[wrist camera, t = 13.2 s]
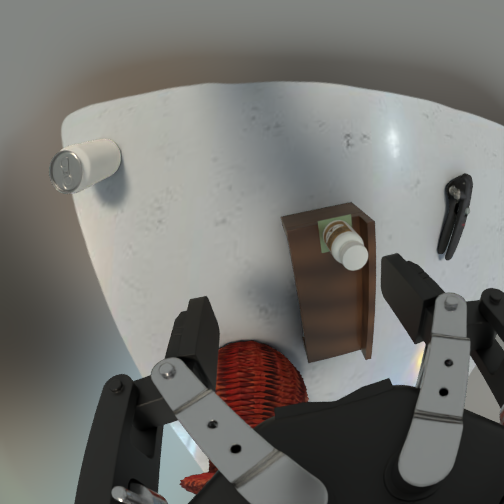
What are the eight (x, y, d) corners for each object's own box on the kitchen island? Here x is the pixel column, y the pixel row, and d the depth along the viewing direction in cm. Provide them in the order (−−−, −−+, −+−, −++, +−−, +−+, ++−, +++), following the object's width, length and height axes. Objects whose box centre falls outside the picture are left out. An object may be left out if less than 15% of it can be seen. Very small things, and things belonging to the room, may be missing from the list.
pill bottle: (335, 213, 38) (355, 234, 31) (356, 230, 39) (378, 253, 32) (316, 237, 39) (331, 263, 32) (337, 252, 40) (355, 280, 33)
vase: (300, 385, 63) (320, 494, 36) (207, 395, 64) (200, 502, 37) (297, 315, 53) (332, 458, 26) (179, 329, 54) (151, 467, 27)
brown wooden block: (280, 213, 44) (289, 236, 36) (351, 199, 43) (374, 217, 35) (303, 342, 56) (311, 374, 48) (356, 328, 56) (371, 358, 47)
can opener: (445, 167, 41) (464, 174, 36) (468, 173, 41) (486, 180, 36) (426, 253, 48) (441, 266, 43) (449, 254, 49) (463, 266, 44)
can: (92, 180, 40) (52, 201, 29) (85, 143, 37) (42, 154, 26) (125, 173, 40) (89, 191, 29) (118, 134, 37) (80, 140, 26)
